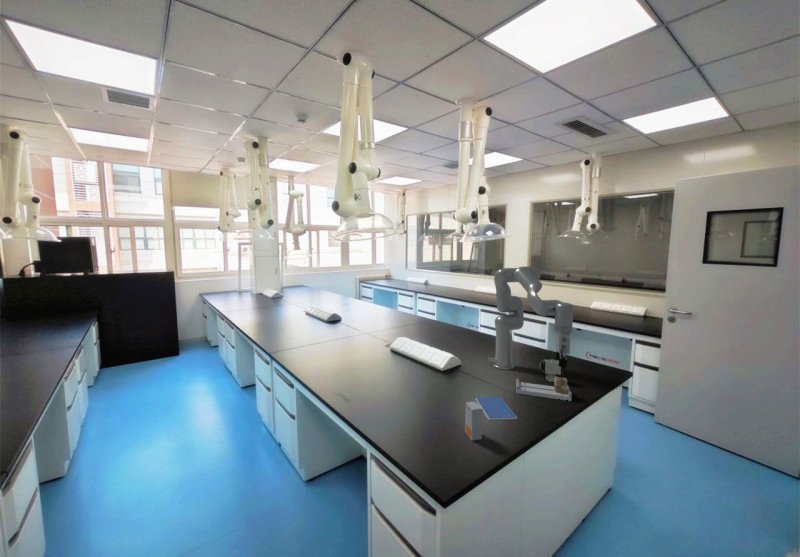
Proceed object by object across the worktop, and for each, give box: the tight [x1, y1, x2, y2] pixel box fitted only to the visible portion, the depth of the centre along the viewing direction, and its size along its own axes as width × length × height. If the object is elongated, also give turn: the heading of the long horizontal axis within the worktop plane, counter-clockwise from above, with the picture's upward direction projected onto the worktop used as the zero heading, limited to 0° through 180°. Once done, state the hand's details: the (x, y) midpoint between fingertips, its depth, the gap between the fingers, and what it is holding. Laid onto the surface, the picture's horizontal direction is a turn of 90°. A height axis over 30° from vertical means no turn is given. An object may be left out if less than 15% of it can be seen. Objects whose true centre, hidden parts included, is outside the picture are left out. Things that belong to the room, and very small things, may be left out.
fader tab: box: [553, 376, 568, 393], centre depth 153 cm, size 5×4×6 cm
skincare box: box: [464, 401, 483, 441], centre depth 118 cm, size 6×4×12 cm
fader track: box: [515, 378, 573, 402], centre depth 155 cm, size 24×10×4 cm, turn 71°
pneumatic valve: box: [539, 358, 566, 383], centre depth 170 cm, size 6×12×12 cm, turn 76°
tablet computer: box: [475, 396, 519, 421], centre depth 140 cm, size 19×13×1 cm, turn 4°
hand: (560, 363), depth 152 cm, fingers open, 9 cm apart
